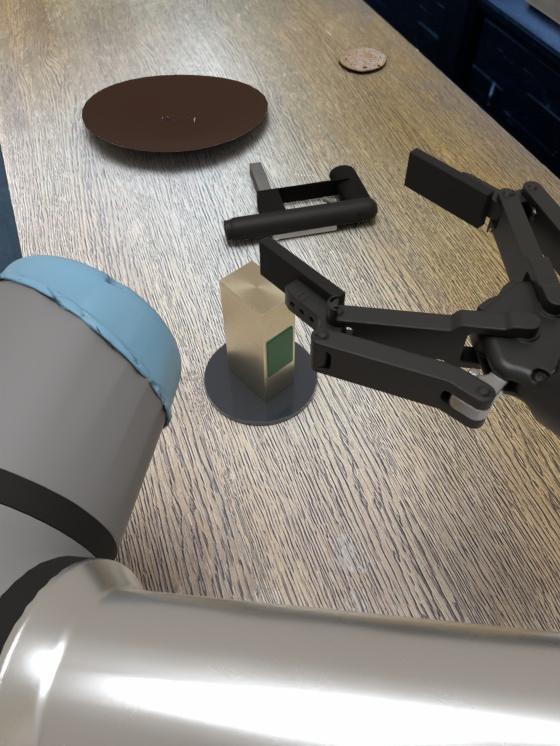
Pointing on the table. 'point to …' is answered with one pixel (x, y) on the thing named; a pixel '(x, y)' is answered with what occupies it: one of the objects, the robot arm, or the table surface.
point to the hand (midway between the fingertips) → (341, 207)
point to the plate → (174, 112)
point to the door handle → (303, 219)
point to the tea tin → (258, 331)
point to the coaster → (246, 404)
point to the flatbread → (362, 59)
